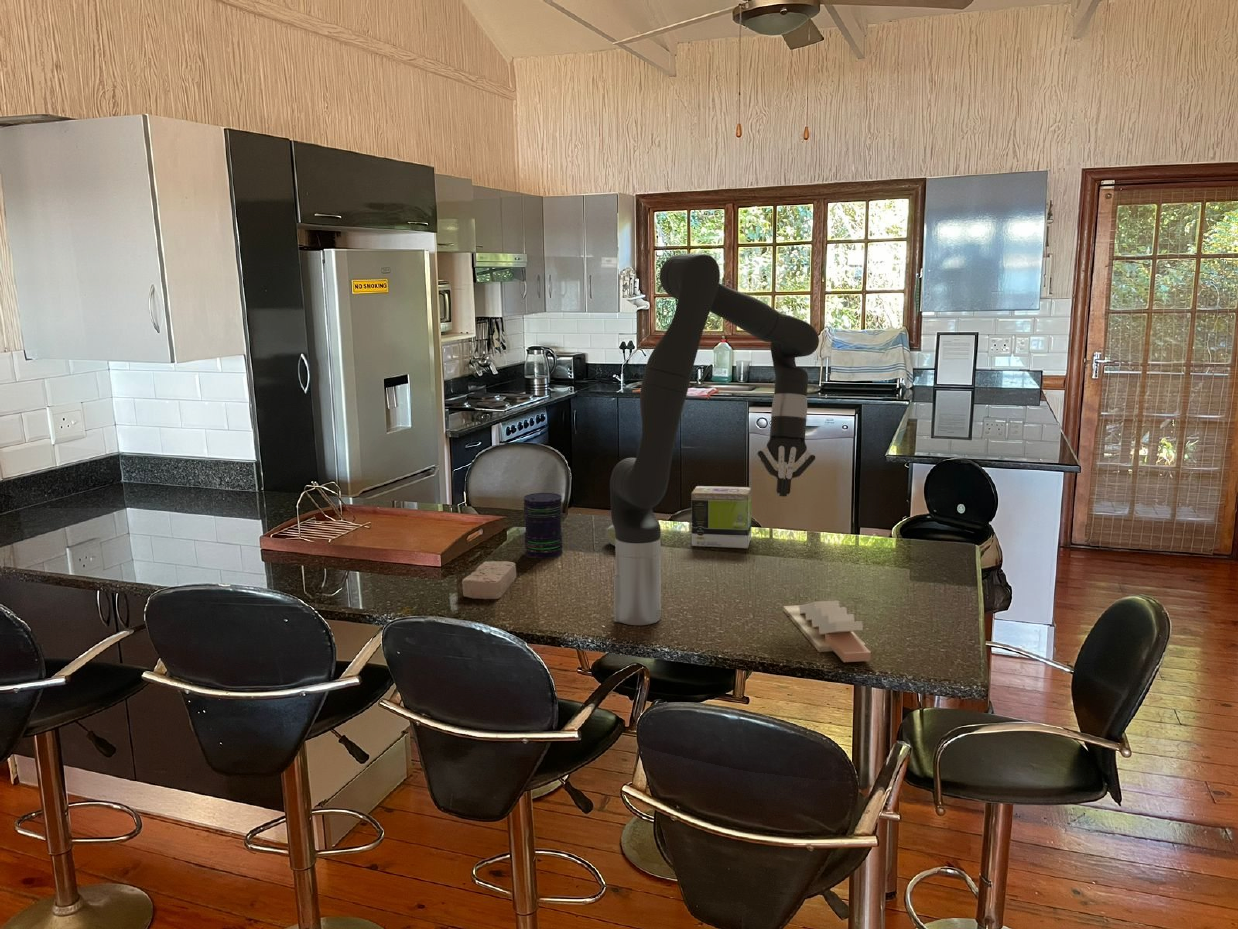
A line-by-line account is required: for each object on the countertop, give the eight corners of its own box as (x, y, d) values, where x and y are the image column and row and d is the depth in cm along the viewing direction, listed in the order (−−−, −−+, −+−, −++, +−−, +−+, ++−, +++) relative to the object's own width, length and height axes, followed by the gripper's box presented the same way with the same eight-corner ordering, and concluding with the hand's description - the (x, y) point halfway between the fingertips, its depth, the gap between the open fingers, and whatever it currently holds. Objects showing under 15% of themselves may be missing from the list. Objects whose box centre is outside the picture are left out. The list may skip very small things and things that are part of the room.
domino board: (783, 610, 197) (783, 606, 197) (824, 608, 198) (824, 604, 198) (819, 652, 174) (819, 647, 174) (865, 649, 175) (865, 644, 175)
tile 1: (799, 605, 192) (814, 601, 183) (822, 604, 193) (838, 600, 183) (799, 613, 192) (814, 609, 182) (823, 612, 192) (839, 608, 183)
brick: (483, 577, 222) (482, 558, 221) (517, 578, 221) (517, 559, 220) (461, 600, 206) (460, 580, 205) (498, 602, 205) (497, 581, 204)
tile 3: (811, 619, 184) (827, 615, 175) (835, 618, 185) (853, 613, 175) (812, 627, 184) (828, 623, 174) (836, 626, 185) (854, 622, 175)
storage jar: (551, 546, 248) (550, 491, 245) (570, 554, 240) (569, 497, 237) (518, 552, 242) (516, 496, 240) (536, 561, 234) (534, 503, 231)
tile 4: (818, 626, 180) (835, 622, 171) (843, 624, 181) (861, 621, 171) (819, 634, 180) (836, 631, 170) (844, 633, 181) (862, 629, 171)
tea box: (751, 539, 252) (752, 486, 250) (747, 549, 243) (748, 494, 240) (696, 537, 256) (696, 484, 253) (690, 546, 246) (690, 492, 243)
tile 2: (805, 612, 188) (820, 608, 179) (829, 611, 189) (846, 607, 179) (806, 620, 188) (821, 616, 178) (830, 619, 188) (847, 615, 179)
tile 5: (825, 633, 176) (844, 653, 167) (850, 632, 177) (871, 652, 167) (825, 641, 177) (843, 662, 167) (850, 640, 177) (870, 660, 168)
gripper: (759, 412, 198) (753, 493, 197) (822, 417, 197) (816, 498, 197) (756, 415, 206) (750, 494, 205) (817, 420, 205) (811, 499, 204)
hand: (782, 496), depth 201 cm, fingers closed
